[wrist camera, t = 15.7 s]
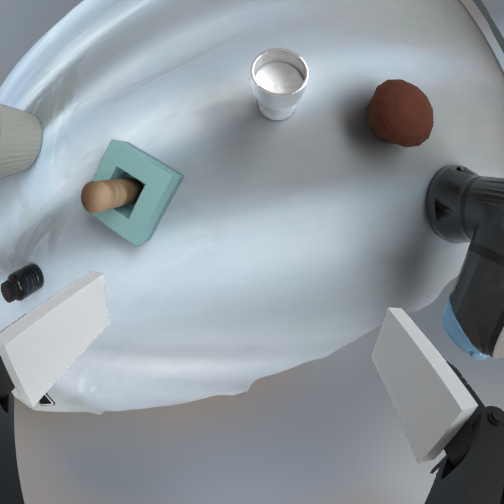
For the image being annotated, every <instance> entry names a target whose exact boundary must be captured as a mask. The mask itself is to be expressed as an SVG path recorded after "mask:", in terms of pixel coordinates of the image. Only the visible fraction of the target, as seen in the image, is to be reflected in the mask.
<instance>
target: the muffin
mask: <svg viewBox="0 0 504 504" xmlns="http://www.w3.org/2000/svg"><path fill="white" fill-rule="evenodd" d="M366 112H367V117H368V125H369V126H370V128H371V129H372V130H373V131H374V133H375V135H376V136H377V137H378V138H381V139H384V140H386V141H388V142H390V143H394V144H399V145H401V146H404V147H412V146H419V145H420V144H422V143H423V142H424V141H425V140H426V139H428V138H429V135H430V133H431V130H432V127H433V109H432V107H431V104H430V102H429V100H428V98H427V96H426V95H425V94H424V93H423V92H422V91H421V90H420V89H419V88H418V87H416V86H414V85H412V84H410V83H408V82H406V81H404V80H387V81H385V82H384V83H382V84H381V85H379V86H378V87H377V88H376V91H375V93H374V95H373V97H372V101H371V103H370V104H369V106H368V107H367V109H366Z"/></svg>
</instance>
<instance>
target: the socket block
mask: <svg viewBox="0 0 504 504" xmlns="http://www.w3.org/2000/svg"><path fill="white" fill-rule="evenodd" d="M128 178H135V179H138V180H139V181H140V182H141V184H142V186H143V190H142V192H141V194H140V196H139V198H138V200H137V202H136V203H133V204H129V205H125V206H121V207H117V208H113V209H109V210H105V211H101V212H98V213H90V214H91V215H93V216H94V217H95V218H97V219H98V220H99V221H101V222H102V223H103V224H105V225H106V226H108V227H109V228H110V229H112V230H113V231H114V232H116V233H117V234H119V235H120V236H121V237H123V238H124V239H126V240H127V241H129V242H130V243H131V244H133V245H134V246H136V247H137V246H139V245H141V244H142V243H144V242H146V241H148V240H149V239H151V237H152V235H153V233H154V231H155V229H156V227H157V225H158V223H159V222H160V220H161V218H162V216H163V214H164V212H165V210H166V208H167V206H168V204H169V203H170V201H171V199H172V197H173V195H174V194H175V192H176V190H177V188H178V186H179V185H180V183H181V181H182V179H183V178H184V175H182V174H181V173H179V172H178V171H176V170H174V169H173V168H171V167H169V166H168V165H166V164H164V163H163V162H161V161H159V160H158V159H156V158H154V157H153V156H151V155H149V154H147V153H146V152H144V151H142V150H141V149H139V148H137V147H136V146H134V145H132V144H130V143H128V142H123V141H118V140H111V142H110V144H109V146H108V148H107V150H106V152H105V154H104V156H103V158H102V161H101V163H100V165H99V167H98V169H97V172H96V174H95V176H94V179H93V181H101V180H113V179H128ZM82 208H83V209H85V208H84V207H82ZM85 210H86V209H85ZM87 212H88V211H87Z"/></svg>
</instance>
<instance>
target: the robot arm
mask: <svg viewBox="0 0 504 504" xmlns="http://www.w3.org/2000/svg"><path fill="white" fill-rule="evenodd" d="M427 213H428V217H429V221H430V223H431V226H432V228H433V229H434V231H435V232H436V233H437V234H438V235H439V236H440V237H441V238H443V239H445V240H447V241H449V242H452V243H465V242H470V245H469V249H468V251H467V254H466V257H465V260H464V262H463V265H462V268H461V271H460V273H459V276H458V278H457V281H456V283H455V286H454V288H453V290H452V292H451V293H450V295H449V299H448V303H447V305H446V308H445V310H444V312H443V316H442V320H443V326H444V329H445V331H446V333H447V334H448V336H449V337H450V339H451V340H452V341H453V342H454V343H455V344H456V345H457V346H458V347H459V348H460V349H461V350H462V351H463V352H465V353H469V354H470V356H471V357H473V358H475V359H478V360H483V359H486V358H487V357H488V356H491V357H492V358H494V359H498V358H502V357H504V178H495V177H483V176H480V175H478V174H476V173H475V172H473V171H471V170H470V169H468V168H466V167H463V166H458V165H450V166H446V167H444V168H442V169H441V170H439V171H438V172H437V173H436V175H435V176H434V178H433V179H432V181H431V183H430V186H429V190H428V194H427ZM476 253H477V254H476ZM478 254H479V255H478ZM502 266H503V267H502ZM109 324H110V320H109V314H108V307H107V299H106V291H105V281H104V274H103V273H97V272H92V271H91V272H90V273H88V274H87V275H85V276H83V277H82V278H80V279H78V280H77V281H75V282H74V283H72V284H71V285H69V286H67V287H66V288H64V289H63V290H61V291H60V292H58V293H57V294H55V295H54V296H52V297H51V298H49V299H48V300H46V301H45V302H43V303H42V304H40V305H39V306H37V307H36V308H34V309H33V310H31V311H30V312H29V313H27V314H25V315H23V316H22V317H21V318H19V319H18V320H17V321H15V322H14V323H12V325H9V326H8V327H7V328H5V329H4V330H3V331H1V332H0V504H24V500H23V495H22V491H21V485H20V480H19V474H18V467H17V459H16V449H15V437H14V396H13V394H12V392H11V391H12V390H13V389H14V388H15V389H16V390H17V392H18V394H19V396H20V398H21V399H22V400H23V401H25V402H26V403H28V404H29V405H31V406H32V407H34V406H35V405H36V404H37V403H38V402H39V400H40V399H41V398H42V397H43V396H44V395H45V393H46V392H47V391H48V390H49V389H50V388H51V387H52V385H53V384H54V383H55V382H56V381H57V380H58V379H59V378H60V376H61V375H62V374H63V373H64V372H65V371H66V370H67V369H68V368H69V367H70V365H71V364H72V363H73V362H74V361H75V360H76V359H77V358H78V357H79V356H80V355H81V354H82V352H83V351H84V350H85V349H86V348H87V347H88V346H89V345H90V344H91V343H92V342H93V341H94V340H95V339H96V338H97V337H98V336H99V335H100V334H101V333H102V332H103V331H104V329H105V328H106V327H107V326H108V325H109ZM371 358H372V361H373V363H374V365H375V367H376V369H377V370H378V373H379V375H380V377H381V379H382V381H383V383H384V386H385V388H386V390H387V392H388V394H389V397H390V399H391V401H392V403H393V406H394V408H395V410H396V412H397V415H398V417H399V419H400V422H401V424H402V426H403V428H404V431H405V433H406V436H407V438H408V441H409V443H410V446H411V448H412V451H413V453H414V456H415V458H416V461H417V464H420V463H423V462H427V461H430V460H433V459H435V458H436V457H437V456H438V455H439V454H440V453H441V451H442V450H443V449H444V450H445V452H446V454H447V455H446V456H445V457H444V458H443V459H442V460H441V461H440V462H439V463H438V464H437V465H436V466H435V467H434V468H433V469H432V471H431V472H430V473H434V472H435V471H436V470H437V469H438V468H439V470H438V473H437V474H436V478H435V480H434V483H433V486H432V488H431V491H430V493H429V495H428V497H427V500H426V502H425V504H504V411H502V410H501V409H500V408H497V407H494V406H488V407H485V406H484V405H483V403H482V402H481V400H480V399H479V398H478V396H477V395H476V394H475V392H474V391H473V390H472V388H471V387H470V386H469V384H468V385H467V381H466V380H465V379H464V378H462V375H461V374H460V372H459V371H458V370H457V368H455V367H454V366H453V365H451V364H450V363H449V362H447V361H445V360H444V358H443V357H442V356H441V355H440V353H439V352H438V351H437V350H436V348H435V347H434V346H433V345H432V344H431V342H430V341H429V340H428V339H427V338H426V336H425V335H424V334H423V333H422V331H421V330H420V329H419V328H418V327H417V326H416V324H415V323H414V322H413V321H412V320H411V319H410V317H409V316H408V315H407V314H406V313H405V312H404V311H403V309H402V308H387V311H386V314H385V317H384V320H383V324H382V327H381V330H380V333H379V335H378V338H377V341H376V344H375V346H374V349H373V352H372V354H371Z"/></svg>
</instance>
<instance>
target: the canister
mask: <svg viewBox="0 0 504 504" xmlns="http://www.w3.org/2000/svg"><path fill="white" fill-rule="evenodd" d="M42 133H43V132H42V126H41V123H40V121H39V119H38V118H37V117H36V116H34V115H32V114H30V113H28V112H25V111H22V110H19V109H16V108H12V107H9V106H5V105H2V104H0V178H1V177H5V176H8V175H12V174H15V173H18V172H21V171H24V170H26V169H28V168H29V167H30V166H31V165H32V164H33V163H34V161H35V160H36V158H37V156H38V154H39V152H40V149H41V145H42V137H43V135H42Z"/></svg>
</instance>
